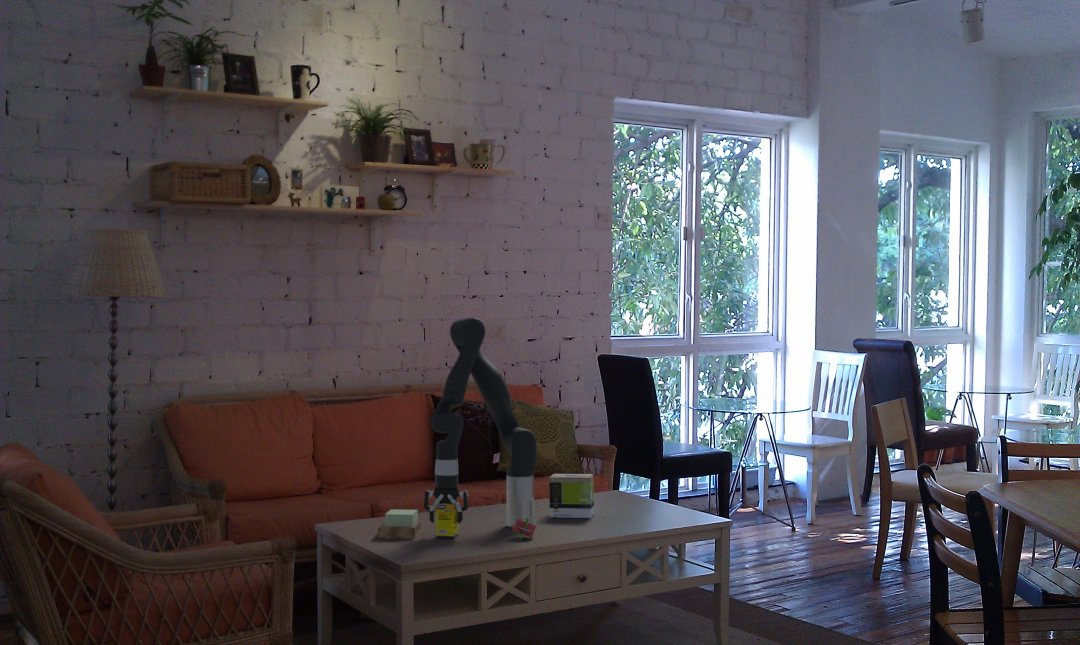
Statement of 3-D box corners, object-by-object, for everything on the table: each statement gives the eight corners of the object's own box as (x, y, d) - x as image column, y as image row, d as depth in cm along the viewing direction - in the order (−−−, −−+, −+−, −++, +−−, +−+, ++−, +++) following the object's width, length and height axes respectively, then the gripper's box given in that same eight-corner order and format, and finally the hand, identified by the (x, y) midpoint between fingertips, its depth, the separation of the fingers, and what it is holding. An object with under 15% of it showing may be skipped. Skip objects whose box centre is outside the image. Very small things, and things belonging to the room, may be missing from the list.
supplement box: (454, 538, 346) (454, 504, 346) (436, 538, 348) (436, 504, 348) (459, 535, 352) (459, 501, 352) (441, 534, 353) (441, 501, 353)
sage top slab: (417, 521, 357) (417, 509, 357) (412, 527, 348) (412, 514, 348) (390, 521, 358) (390, 509, 358) (385, 526, 349) (385, 514, 349)
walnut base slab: (421, 533, 359) (421, 521, 359) (414, 540, 347) (414, 528, 347) (385, 532, 359) (385, 520, 359) (377, 539, 347) (377, 527, 347)
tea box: (594, 514, 391) (594, 473, 391) (590, 519, 381) (590, 477, 381) (553, 513, 394) (553, 472, 394) (548, 518, 384) (548, 476, 384)
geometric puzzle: (538, 529, 352) (524, 509, 351) (542, 533, 345) (527, 513, 344) (521, 543, 351) (506, 523, 350) (524, 547, 344) (509, 527, 343)
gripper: (470, 471, 353) (469, 521, 353) (427, 470, 354) (426, 520, 354) (466, 475, 346) (466, 525, 346) (422, 474, 347) (422, 524, 347)
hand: (446, 522), depth 350 cm, fingers open, 8 cm apart
